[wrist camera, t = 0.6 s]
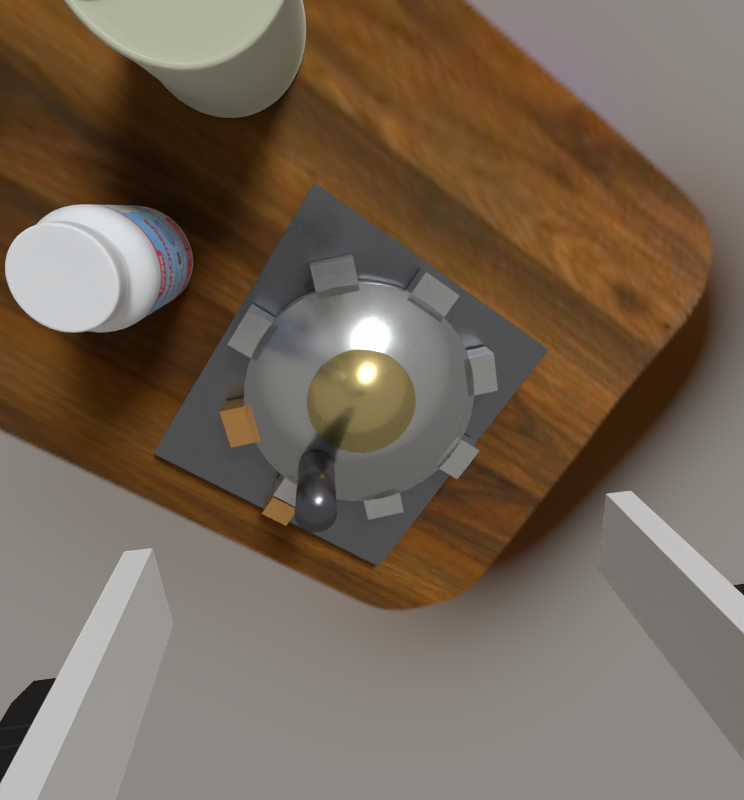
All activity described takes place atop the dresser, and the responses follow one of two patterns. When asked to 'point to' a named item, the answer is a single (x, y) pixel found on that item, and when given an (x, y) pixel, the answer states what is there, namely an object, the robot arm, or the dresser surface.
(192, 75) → the pale green cylinder
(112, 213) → the pill bottle
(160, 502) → the dresser surface
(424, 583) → the dresser surface
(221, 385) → the base plate
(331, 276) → the sprocket
